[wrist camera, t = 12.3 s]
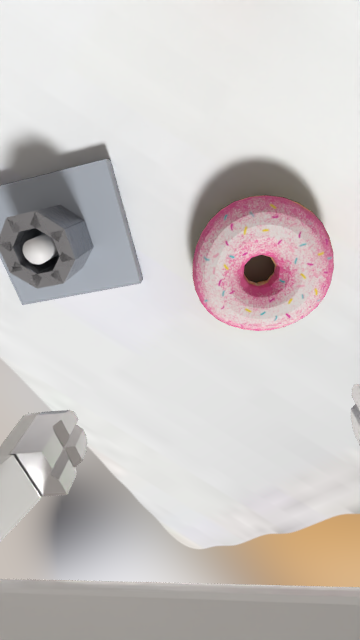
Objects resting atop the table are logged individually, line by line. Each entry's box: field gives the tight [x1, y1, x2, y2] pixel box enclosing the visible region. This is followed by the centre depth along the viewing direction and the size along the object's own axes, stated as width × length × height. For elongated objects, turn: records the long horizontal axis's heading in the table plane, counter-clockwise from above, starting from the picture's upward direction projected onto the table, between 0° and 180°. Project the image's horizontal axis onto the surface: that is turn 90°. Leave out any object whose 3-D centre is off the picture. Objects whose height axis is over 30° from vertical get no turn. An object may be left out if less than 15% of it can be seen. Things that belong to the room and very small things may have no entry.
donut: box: [193, 195, 334, 331], centre depth 30 cm, size 14×13×5 cm
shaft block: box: [0, 159, 143, 305], centre depth 30 cm, size 14×12×6 cm
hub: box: [0, 205, 94, 289], centre depth 29 cm, size 6×6×5 cm
